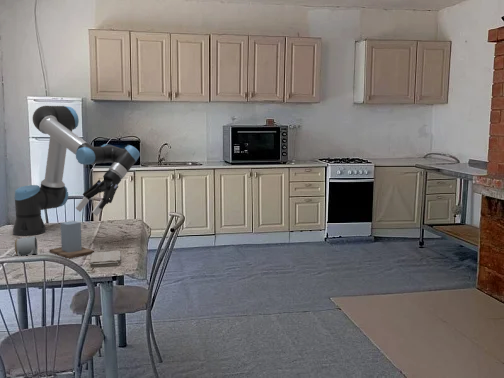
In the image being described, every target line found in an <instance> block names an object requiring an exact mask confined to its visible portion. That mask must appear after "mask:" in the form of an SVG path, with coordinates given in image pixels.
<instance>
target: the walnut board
mask: <svg viewBox="0 0 504 378" xmlns="http://www.w3.org/2000/svg"><path fill="white" fill-rule="evenodd" d="M48 252H49V253H50V254H53V255H56V254H57V255H56V256H59V257H62V258H64V257H65V259H67V258H69V259H68V260H71V259H75V257H76V258H79V257H80V258H81V257H85V256H90V255H92V253H94V252H95V250H94V249H90V248H87V247H84V246H82V250H80V251H75V252H69V253H68V252H65V251H63V250H62V246H61V247H57V248H56V247H55V248H51V249H49V251H48ZM84 255H85V256H84Z"/></svg>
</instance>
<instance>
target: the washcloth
mask: <svg viewBox="0 0 504 378" xmlns="http://www.w3.org/2000/svg"><path fill="white" fill-rule="evenodd" d="M90 255H91V256H90V259H89V268H90V267H91V268H105V267H109V268H110V267H117V266H120V264H121V251H120V250H111V251H94V253H92V254H90Z"/></svg>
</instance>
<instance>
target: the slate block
mask: <svg viewBox="0 0 504 378" xmlns="http://www.w3.org/2000/svg"><path fill="white" fill-rule="evenodd" d="M81 229H82V225H81V222H80V221H76V220H71V221H64V222H63V221H62V222H60V241H61V247H62V250H63V251H65V252H68V253H69V252H75V251H80V250H82V247H83V246H82V230H81Z"/></svg>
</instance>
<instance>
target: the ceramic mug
mask: <svg viewBox="0 0 504 378" xmlns="http://www.w3.org/2000/svg"><path fill="white" fill-rule="evenodd" d="M38 250H39V249H38V239H37V237H36V235H33V236H29V237H27V236H26V237H20V238H17V239H15V241H14V251H15V254H16V255H17V257H18V256H21V255H22V256H26V255H32V254H36V255H38ZM32 256H33V255H32Z"/></svg>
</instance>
